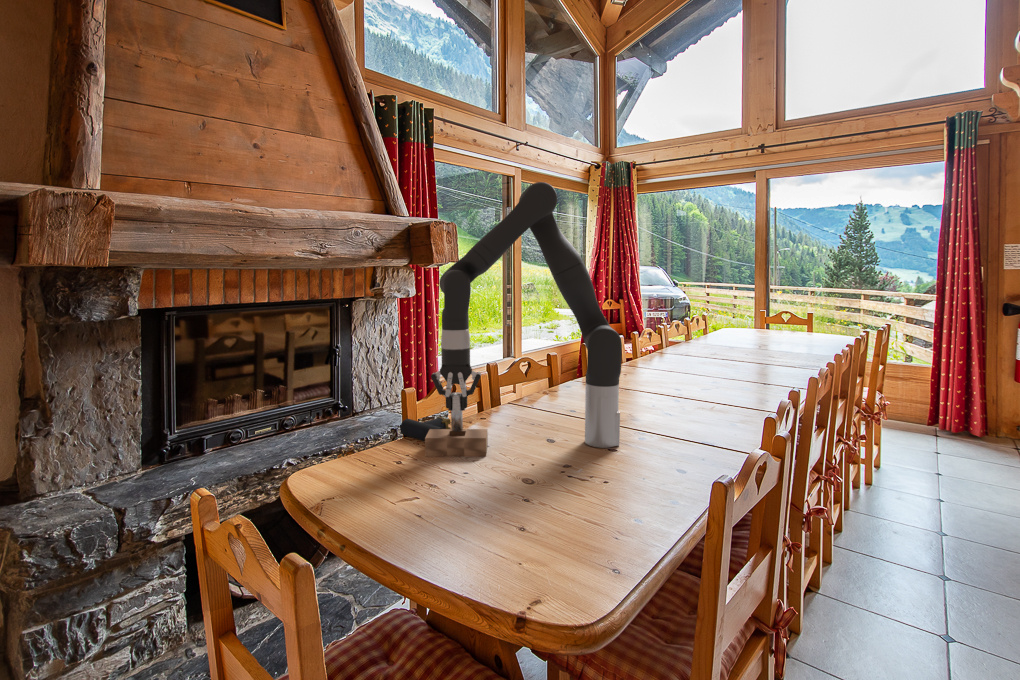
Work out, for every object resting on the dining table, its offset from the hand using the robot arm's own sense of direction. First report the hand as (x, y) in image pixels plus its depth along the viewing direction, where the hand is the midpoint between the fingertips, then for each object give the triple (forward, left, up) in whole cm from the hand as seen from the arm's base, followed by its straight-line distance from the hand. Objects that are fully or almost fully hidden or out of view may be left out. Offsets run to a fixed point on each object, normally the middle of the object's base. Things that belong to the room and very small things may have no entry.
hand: (456, 409), depth 144 cm
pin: (0, 0, -6) cm, 6 cm away
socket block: (0, 0, -12) cm, 12 cm away
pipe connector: (+9, -13, -12) cm, 20 cm away
